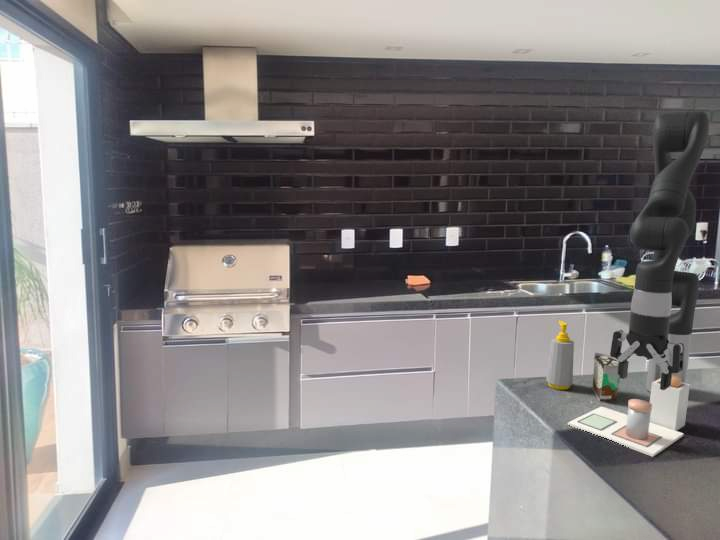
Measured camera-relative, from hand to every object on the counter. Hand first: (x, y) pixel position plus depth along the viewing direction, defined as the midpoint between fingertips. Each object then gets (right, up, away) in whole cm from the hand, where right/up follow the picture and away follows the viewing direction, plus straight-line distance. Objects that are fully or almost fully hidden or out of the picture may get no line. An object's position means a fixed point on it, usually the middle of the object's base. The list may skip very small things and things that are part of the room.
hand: (642, 383), depth 121 cm
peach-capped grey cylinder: (0, -12, +2) cm, 12 cm away
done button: (+11, -3, +8) cm, 14 cm away
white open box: (+10, -12, +10) cm, 18 cm away
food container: (+4, -9, +27) cm, 29 cm away
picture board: (-1, -12, +6) cm, 13 cm away
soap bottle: (-6, -8, +33) cm, 35 cm away
